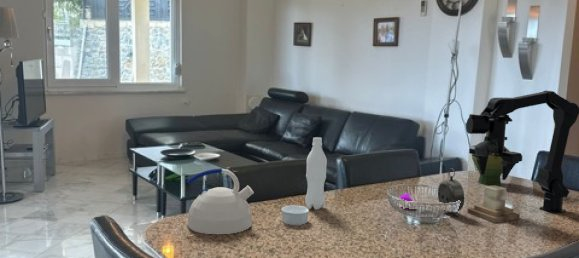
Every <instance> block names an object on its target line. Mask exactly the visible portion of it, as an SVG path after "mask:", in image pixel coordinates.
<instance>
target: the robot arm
mask: <svg viewBox="0 0 579 258" xmlns="http://www.w3.org/2000/svg"><path fill="white" fill-rule="evenodd" d="M543 104H546V105H547V107H548V108H549V109H551V110H552V118H553V122H554V130H553V134H552V138H551V143H550V147H549V151H548V157H547V161H546V164H545V165H544V166H543V168H542V167H539V168H538V174H537V175H536V179H537V183H538V185H539V186H540V189H541V191H542V192H545V193H544V197H543V203H542V204H543V205H542V206H540V207H539V210H543V211H546V212H549V213H551V214H558V213H564V212H565V213H566V212H567V209H564V208H563V205H564V198H568V196H569V193H570V190H568V188H567V187H566V186H565V185H564V173H563V170H562V169H563V168H562V165H563V163H564V162H563V161H564V157H565V152H566V148H567V143H568V140H569V135H570V130H571V128H572V126H573V125H574V124H575V123H576V122H577V121H578V120H577V119H578V117H579V106H578V104H577V103H574V102H571V101H570V100H568V99H566V98H564V97H562V96H561V95H559V94H558V93H556V92H555V91H553V90H543V91H541V92H535V93H529V94H525V95H524V94H523V95H521V96H520V95H519V96H514V97H492V98H490V99H489V100H488V102H487V105H486V107H485V108H484V109H483V110H482V112H480V114H473V113H471V114H469V117H468V118H467V120H466V122H465V130H466V133H467V134H468V135H470V134H471V135H474V134H476V135H485V136H484V139H483V141H481V142H479V143H477V144H475V145H473V144H472V145H470V147H469V149H468V153H469V154H471V157H472V156H474V157H475V158H476V159H477V162H478V165H479V168H480V171H481V174H482V175H484V173H485V170H486V165H487V160H488V155H493V156H497V157H502V159H503V161H501V163H502V165H503V173H502V175H501V176H502V177H501V178H502V180H503V181H506V180H507V178H508V176H509V174H510V172H511V171H513V168H514V167H515V166H516V164H519V163H521V162H523V154H522V153H521V152H516V151H510V152H506V149H505V148H504V146H505V141H508V136H506V128H507V126H506V125H507V124H506V122H513V119H512V118H511V117H510V115H509V114H512V113H513V112H515V111H517V110H519V109H522V108H529V107H533V106H539V105H543ZM491 113H492V114H491ZM508 115H509V116H508ZM489 118H491V119H489ZM486 132H488V136H486Z"/></svg>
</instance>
